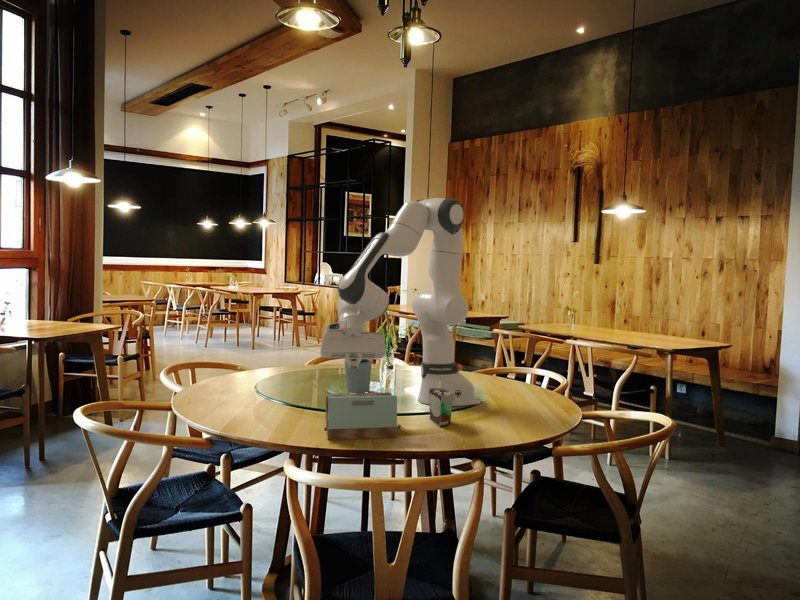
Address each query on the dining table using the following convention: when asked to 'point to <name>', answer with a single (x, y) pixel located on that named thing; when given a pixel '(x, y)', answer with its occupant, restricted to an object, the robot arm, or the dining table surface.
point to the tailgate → (362, 412)
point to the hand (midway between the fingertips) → (353, 367)
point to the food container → (441, 406)
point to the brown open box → (359, 432)
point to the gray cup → (358, 376)
